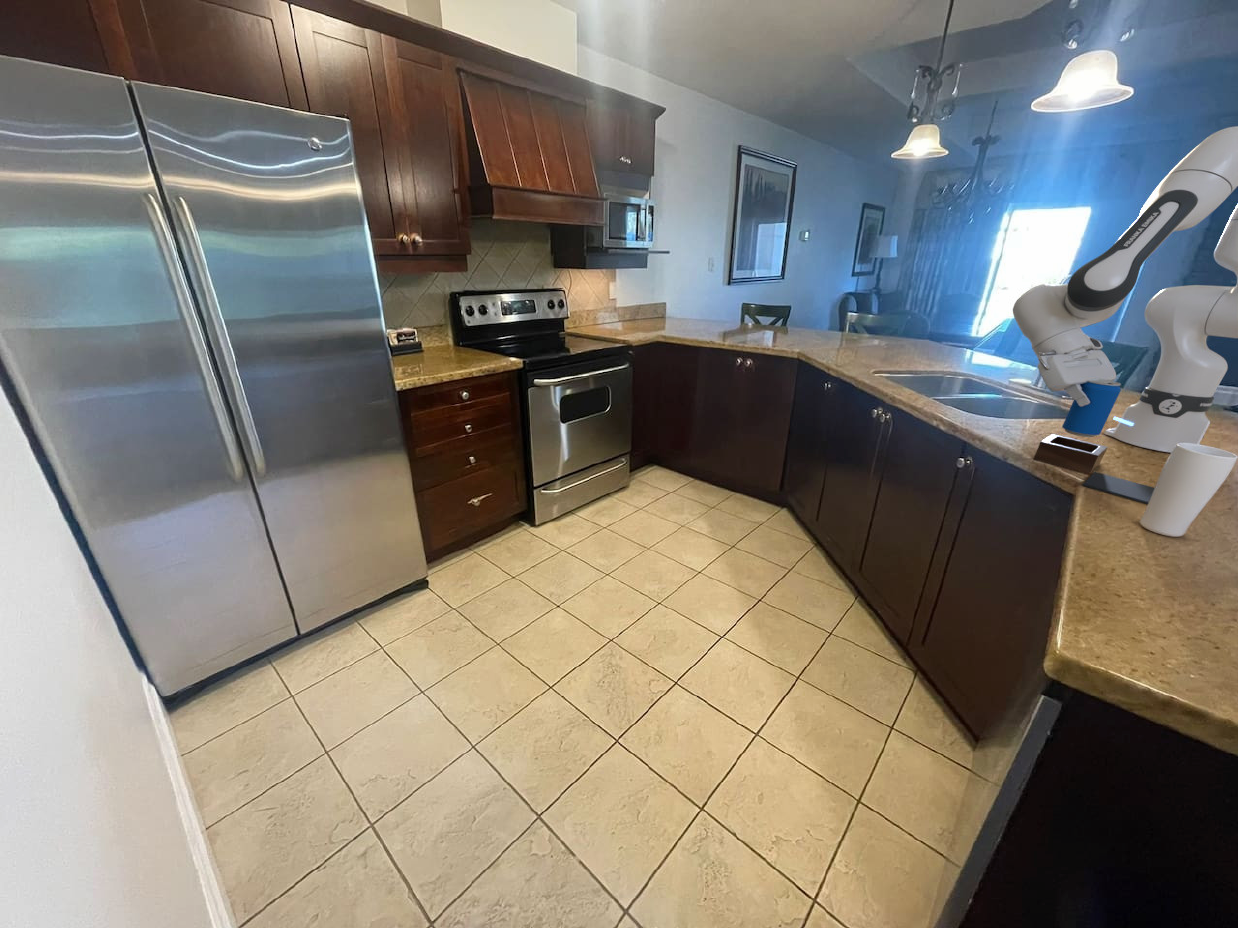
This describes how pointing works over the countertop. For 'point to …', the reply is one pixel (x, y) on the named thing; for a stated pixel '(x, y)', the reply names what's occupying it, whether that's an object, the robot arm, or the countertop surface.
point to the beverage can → (1092, 408)
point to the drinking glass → (1186, 487)
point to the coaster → (1119, 487)
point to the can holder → (1070, 453)
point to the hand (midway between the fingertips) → (1096, 403)
